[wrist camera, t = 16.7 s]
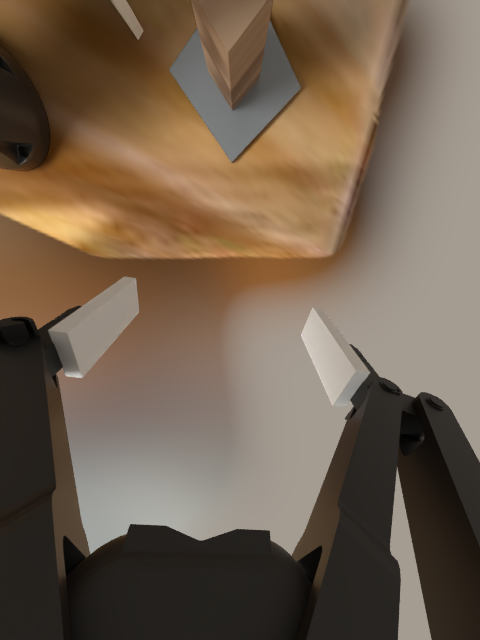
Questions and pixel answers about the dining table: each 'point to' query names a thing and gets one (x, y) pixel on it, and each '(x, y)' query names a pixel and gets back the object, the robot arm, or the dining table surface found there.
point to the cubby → (128, 16)
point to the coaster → (255, 106)
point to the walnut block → (233, 42)
